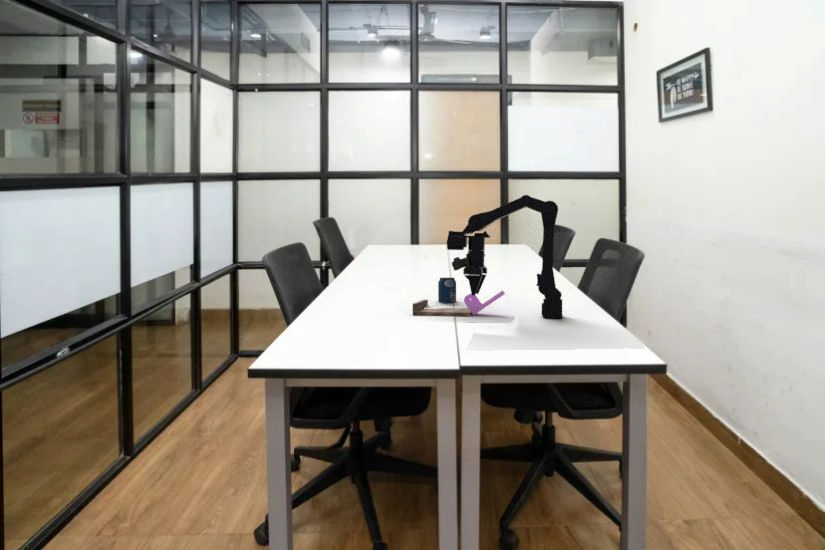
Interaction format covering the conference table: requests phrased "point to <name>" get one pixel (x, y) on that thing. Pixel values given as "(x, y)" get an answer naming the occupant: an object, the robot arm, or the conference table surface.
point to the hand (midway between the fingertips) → (475, 294)
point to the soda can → (447, 290)
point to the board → (438, 310)
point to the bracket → (476, 305)
